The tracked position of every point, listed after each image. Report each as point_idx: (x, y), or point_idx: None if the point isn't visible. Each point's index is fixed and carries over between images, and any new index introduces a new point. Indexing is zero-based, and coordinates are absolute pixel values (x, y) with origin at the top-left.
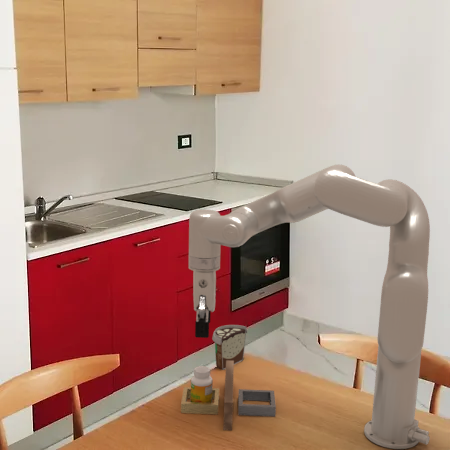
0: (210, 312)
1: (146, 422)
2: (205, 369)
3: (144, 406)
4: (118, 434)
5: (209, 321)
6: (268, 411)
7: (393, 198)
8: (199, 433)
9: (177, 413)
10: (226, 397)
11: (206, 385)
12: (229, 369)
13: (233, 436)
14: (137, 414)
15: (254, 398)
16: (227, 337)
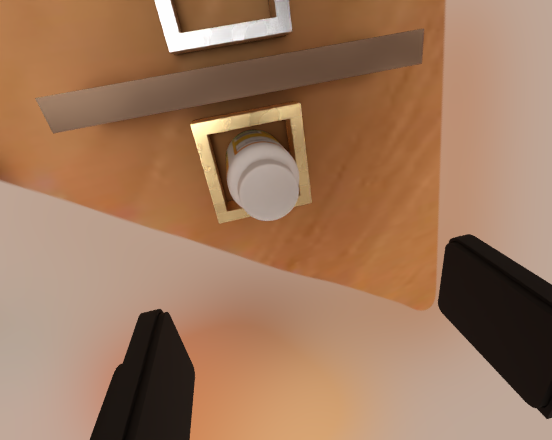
0: (132, 396)
1: (355, 244)
2: (268, 181)
3: (291, 270)
4: (402, 270)
5: (164, 319)
6: None
7: None
8: (391, 126)
9: None
10: (385, 62)
11: (291, 156)
12: (142, 98)
13: (402, 30)
14: (327, 270)
15: None
16: None
